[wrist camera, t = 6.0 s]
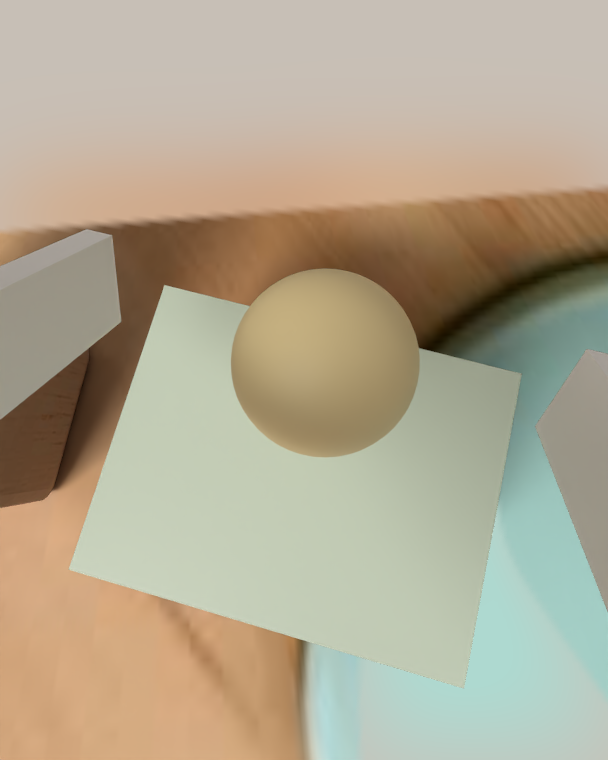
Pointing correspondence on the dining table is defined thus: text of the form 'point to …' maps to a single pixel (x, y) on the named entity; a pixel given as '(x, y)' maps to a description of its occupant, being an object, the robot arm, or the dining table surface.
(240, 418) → the lid
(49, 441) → the block
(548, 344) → the dining table surface
